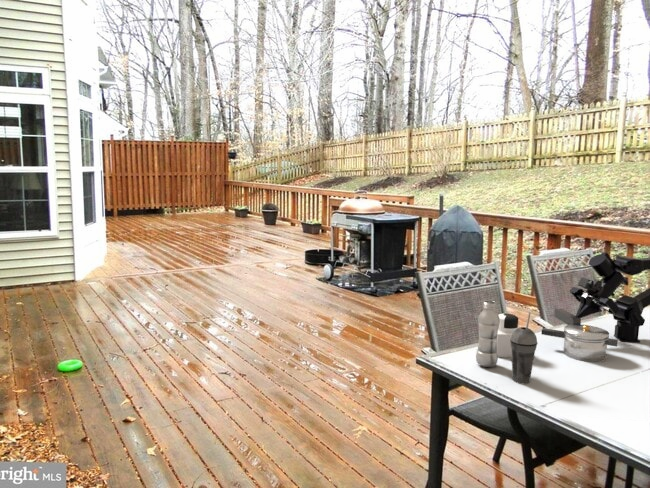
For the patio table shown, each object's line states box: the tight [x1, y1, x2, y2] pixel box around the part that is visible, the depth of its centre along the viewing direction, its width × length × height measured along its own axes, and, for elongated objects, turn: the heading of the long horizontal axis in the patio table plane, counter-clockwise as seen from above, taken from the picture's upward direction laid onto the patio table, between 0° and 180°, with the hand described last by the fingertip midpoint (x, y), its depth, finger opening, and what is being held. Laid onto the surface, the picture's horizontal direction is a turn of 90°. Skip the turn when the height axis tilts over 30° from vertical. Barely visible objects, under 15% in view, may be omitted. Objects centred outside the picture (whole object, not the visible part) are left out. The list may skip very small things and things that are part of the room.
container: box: [497, 313, 519, 358], centre depth 167 cm, size 8×8×13 cm
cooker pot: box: [540, 327, 619, 363], centre depth 168 cm, size 22×13×7 cm, turn 57°
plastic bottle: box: [475, 300, 500, 368], centre depth 156 cm, size 6×7×20 cm
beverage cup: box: [510, 311, 538, 385], centre depth 145 cm, size 7×7×20 cm
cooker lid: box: [553, 308, 610, 341], centre depth 172 cm, size 26×13×3 cm, turn 2°
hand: (576, 317), depth 178 cm, fingers closed
